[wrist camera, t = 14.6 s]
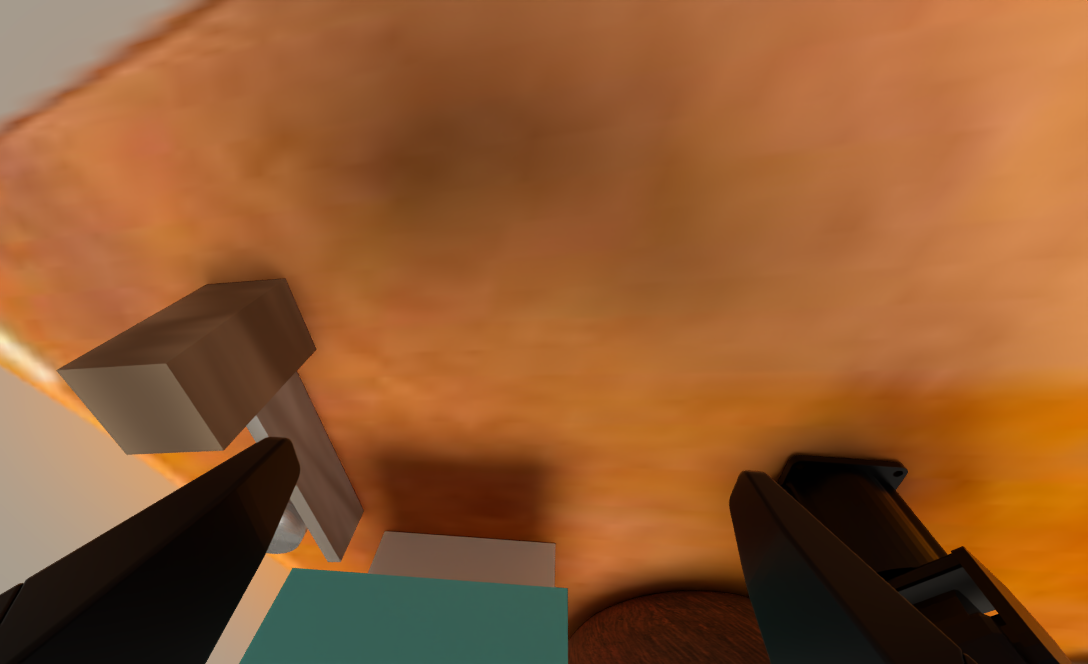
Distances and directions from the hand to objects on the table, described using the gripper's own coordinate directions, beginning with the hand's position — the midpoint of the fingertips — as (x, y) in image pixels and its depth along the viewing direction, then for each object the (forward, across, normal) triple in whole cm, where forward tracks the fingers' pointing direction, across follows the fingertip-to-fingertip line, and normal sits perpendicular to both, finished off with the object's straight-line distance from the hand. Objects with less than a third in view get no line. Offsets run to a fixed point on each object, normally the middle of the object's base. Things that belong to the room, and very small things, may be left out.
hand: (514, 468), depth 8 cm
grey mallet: (+12, +13, +11) cm, 21 cm away
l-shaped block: (+12, +4, +20) cm, 24 cm away
